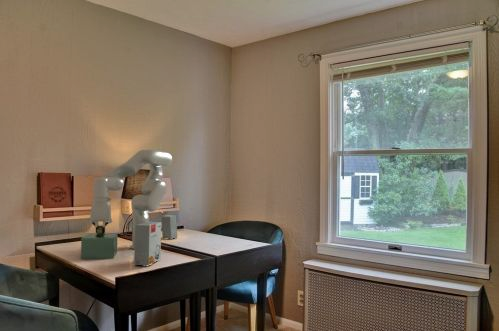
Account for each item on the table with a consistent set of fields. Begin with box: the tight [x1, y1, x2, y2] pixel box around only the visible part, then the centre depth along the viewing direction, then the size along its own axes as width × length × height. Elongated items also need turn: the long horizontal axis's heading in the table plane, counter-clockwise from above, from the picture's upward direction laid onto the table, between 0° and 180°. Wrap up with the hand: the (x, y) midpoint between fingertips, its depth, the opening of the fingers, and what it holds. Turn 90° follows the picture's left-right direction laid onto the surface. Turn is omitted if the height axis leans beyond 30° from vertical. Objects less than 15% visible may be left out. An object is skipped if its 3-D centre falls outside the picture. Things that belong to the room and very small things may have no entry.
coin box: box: [80, 232, 119, 260], centre depth 214 cm, size 16×16×11 cm
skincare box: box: [161, 214, 178, 240], centre depth 269 cm, size 8×7×16 cm
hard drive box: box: [133, 221, 162, 265], centre depth 199 cm, size 16×8×20 cm, turn 170°
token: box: [97, 225, 103, 237], centre depth 214 cm, size 2×6×5 cm
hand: (100, 234), depth 214 cm, fingers closed on token, 1 cm apart
